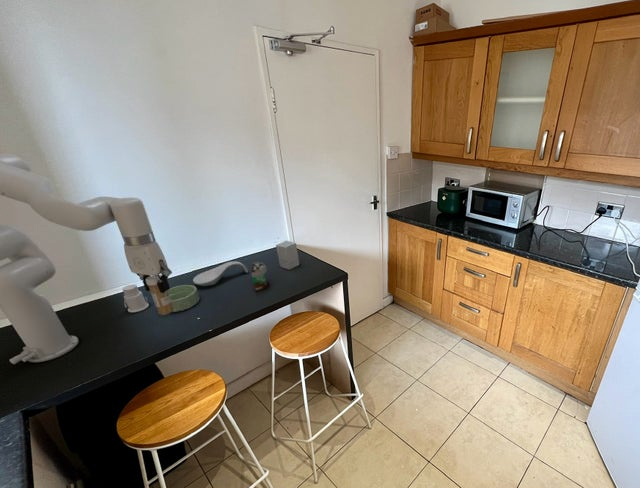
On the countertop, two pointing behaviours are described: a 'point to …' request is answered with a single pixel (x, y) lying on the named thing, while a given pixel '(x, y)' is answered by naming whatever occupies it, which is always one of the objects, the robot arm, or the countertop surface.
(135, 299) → the downlight
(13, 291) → the robot arm
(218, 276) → the spoon rest
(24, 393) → the countertop surface
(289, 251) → the white packaging box
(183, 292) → the bowl
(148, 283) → the sprinkles bottle
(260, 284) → the figurine
